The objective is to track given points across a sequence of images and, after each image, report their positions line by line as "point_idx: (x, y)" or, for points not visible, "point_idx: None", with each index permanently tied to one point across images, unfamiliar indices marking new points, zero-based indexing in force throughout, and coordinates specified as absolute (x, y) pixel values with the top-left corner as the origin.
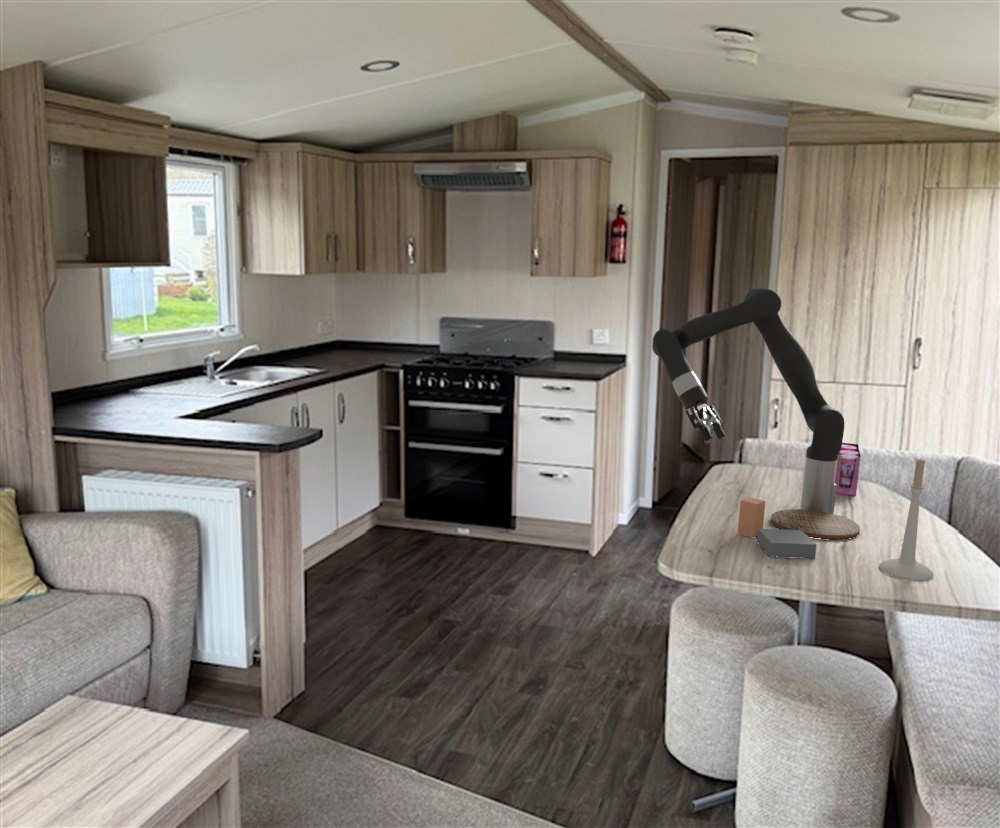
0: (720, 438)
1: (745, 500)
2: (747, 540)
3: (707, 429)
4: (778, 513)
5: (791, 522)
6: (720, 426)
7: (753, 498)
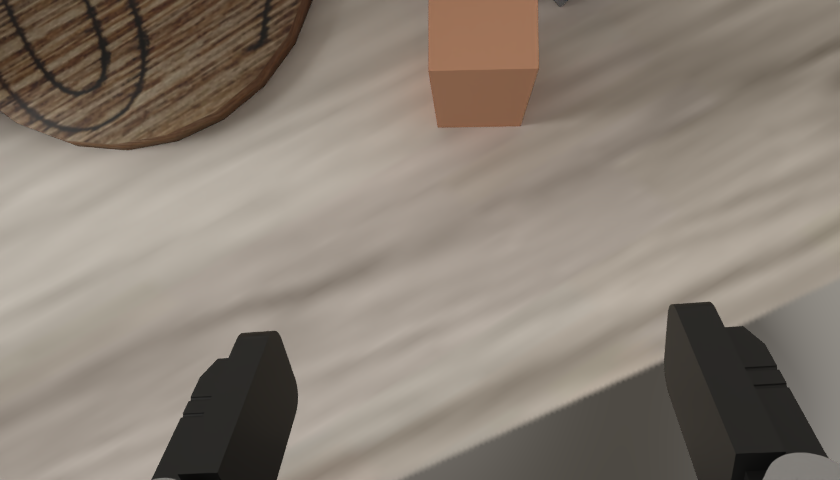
0: (294, 377)
1: (521, 46)
2: (568, 48)
3: (756, 401)
4: (123, 121)
5: (217, 8)
6: (197, 448)
7: (436, 39)
